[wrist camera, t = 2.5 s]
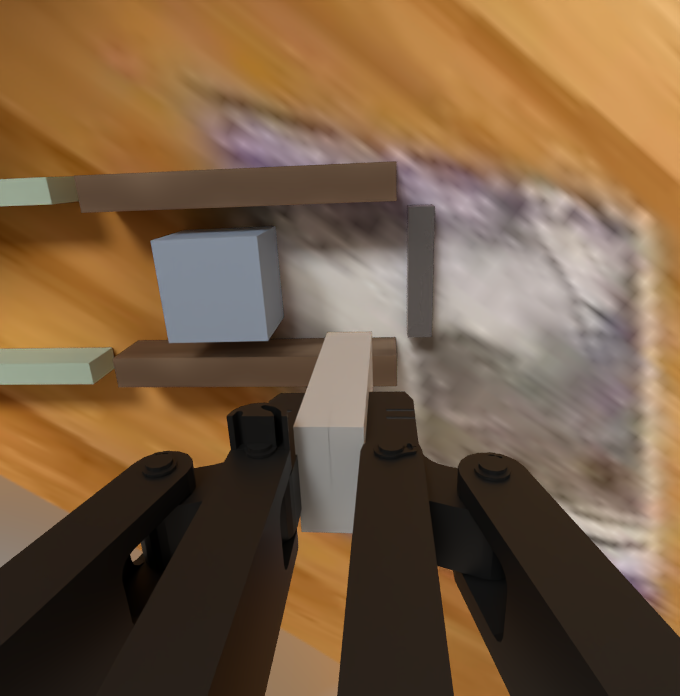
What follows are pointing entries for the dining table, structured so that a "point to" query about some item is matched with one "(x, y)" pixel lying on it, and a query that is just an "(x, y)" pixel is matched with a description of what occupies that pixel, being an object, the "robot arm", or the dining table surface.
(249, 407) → the robot arm
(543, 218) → the dining table surface
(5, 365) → the frame
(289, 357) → the channel
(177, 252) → the block
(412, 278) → the bar
